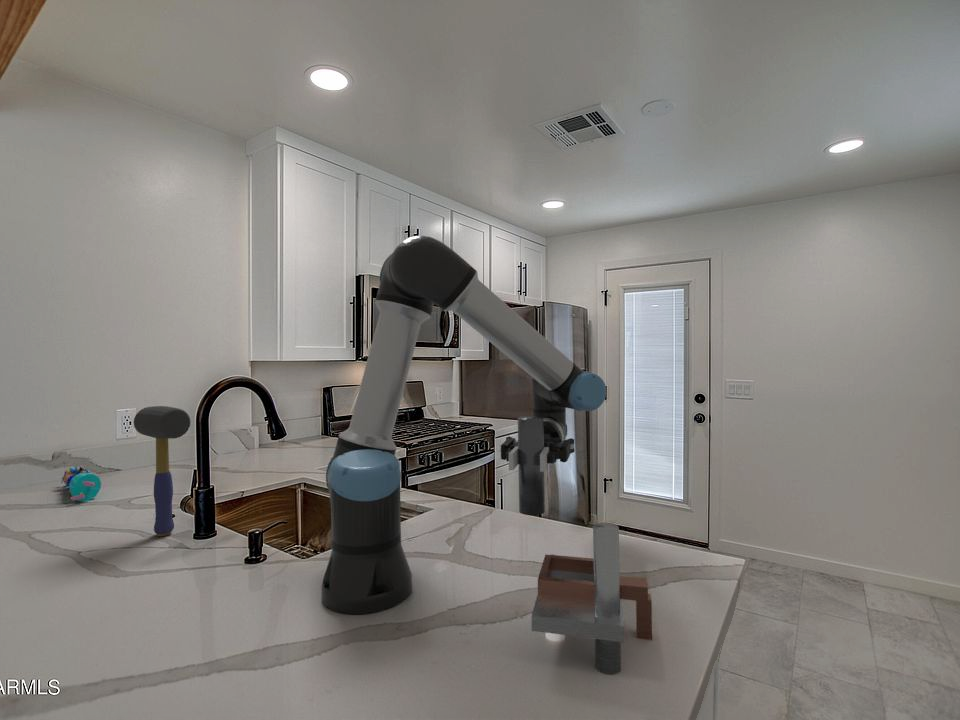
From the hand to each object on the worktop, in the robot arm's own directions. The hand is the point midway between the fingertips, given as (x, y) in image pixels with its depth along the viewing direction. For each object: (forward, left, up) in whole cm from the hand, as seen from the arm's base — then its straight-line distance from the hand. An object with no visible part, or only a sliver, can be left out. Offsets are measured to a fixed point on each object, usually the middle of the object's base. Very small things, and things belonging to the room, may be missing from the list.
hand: (526, 462), depth 78 cm
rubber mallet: (-88, +13, -23) cm, 92 cm away
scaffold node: (+11, -8, -23) cm, 27 cm away
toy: (-146, +36, -23) cm, 152 cm away
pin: (0, +5, -10) cm, 11 cm away
